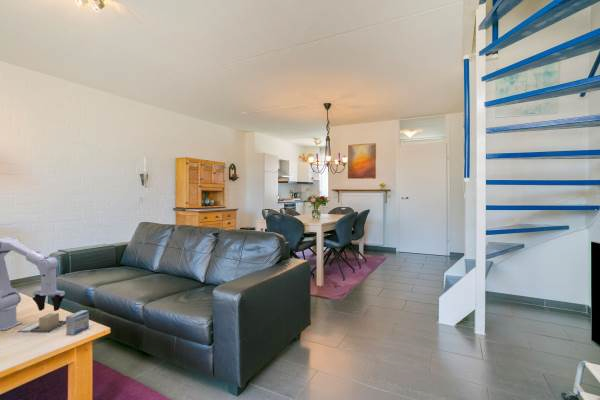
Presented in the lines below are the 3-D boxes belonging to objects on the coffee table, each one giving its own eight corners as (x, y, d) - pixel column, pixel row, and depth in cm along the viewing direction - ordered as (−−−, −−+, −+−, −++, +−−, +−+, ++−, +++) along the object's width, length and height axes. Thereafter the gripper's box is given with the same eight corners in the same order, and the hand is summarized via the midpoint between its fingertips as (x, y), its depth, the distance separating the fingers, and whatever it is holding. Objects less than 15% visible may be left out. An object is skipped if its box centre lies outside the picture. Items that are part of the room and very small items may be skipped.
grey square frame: (30, 332, 138) (30, 329, 138) (50, 322, 148) (50, 320, 148) (48, 332, 138) (48, 329, 138) (66, 323, 148) (66, 320, 148)
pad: (17, 331, 139) (17, 330, 139) (37, 322, 149) (37, 321, 149) (29, 332, 138) (29, 331, 138) (48, 322, 148) (48, 321, 148)
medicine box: (73, 335, 135) (73, 317, 135) (65, 334, 136) (65, 316, 136) (89, 327, 143) (89, 310, 143) (81, 327, 144) (81, 309, 144)
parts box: (39, 330, 140) (39, 317, 140) (50, 324, 146) (50, 312, 146) (48, 330, 140) (48, 318, 140) (59, 324, 146) (58, 312, 146)
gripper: (26, 284, 139) (27, 313, 139) (55, 285, 139) (56, 313, 139) (40, 280, 146) (40, 307, 146) (68, 280, 146) (68, 307, 146)
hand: (49, 310), depth 143 cm, fingers open, 7 cm apart
